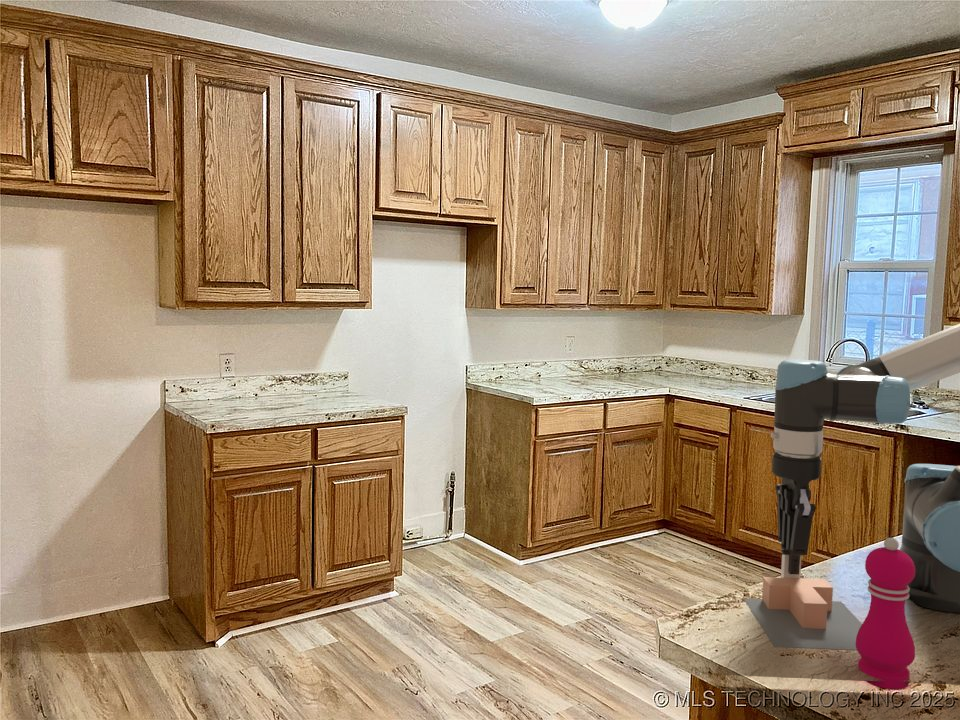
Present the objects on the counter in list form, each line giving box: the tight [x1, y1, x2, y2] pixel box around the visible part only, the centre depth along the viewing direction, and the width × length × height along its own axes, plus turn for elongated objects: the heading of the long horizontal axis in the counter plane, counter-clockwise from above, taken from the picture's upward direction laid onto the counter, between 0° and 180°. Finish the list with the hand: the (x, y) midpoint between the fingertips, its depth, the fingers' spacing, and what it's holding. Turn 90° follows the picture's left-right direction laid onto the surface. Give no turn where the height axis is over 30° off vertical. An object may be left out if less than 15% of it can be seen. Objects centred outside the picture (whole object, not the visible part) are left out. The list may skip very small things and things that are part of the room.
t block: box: [761, 576, 834, 629], centre depth 121 cm, size 10×10×4 cm
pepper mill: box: [856, 537, 916, 690], centre depth 103 cm, size 7×7×20 cm
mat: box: [743, 597, 863, 651], centre depth 118 cm, size 16×17×1 cm
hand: (790, 589), depth 127 cm, fingers closed
